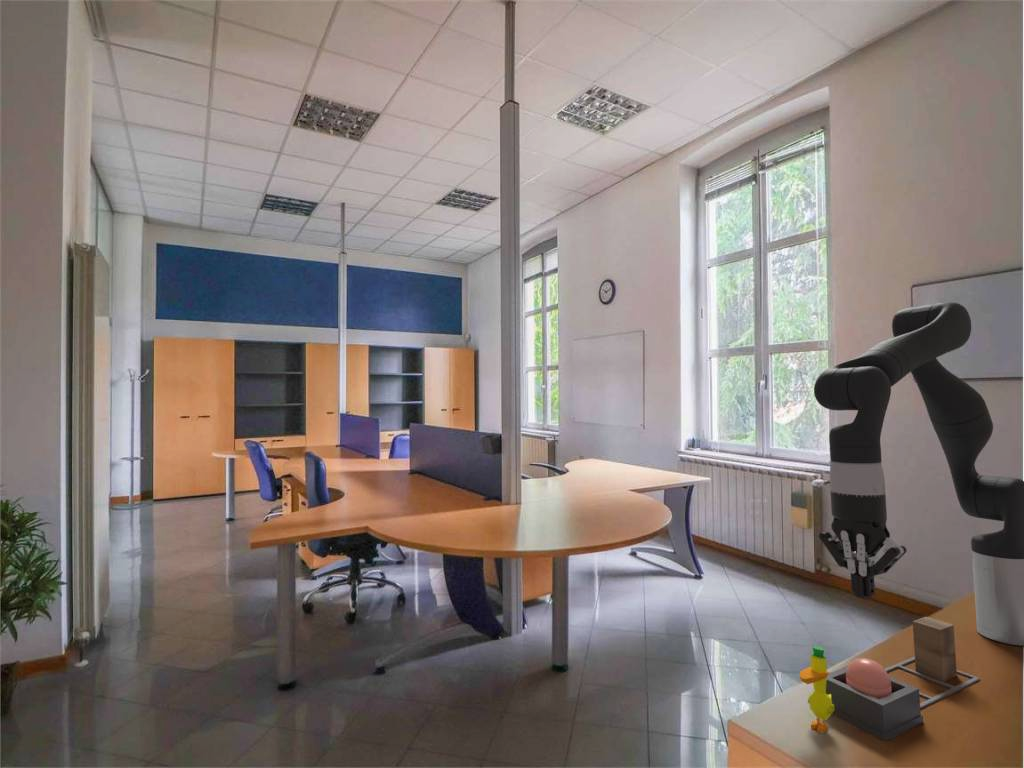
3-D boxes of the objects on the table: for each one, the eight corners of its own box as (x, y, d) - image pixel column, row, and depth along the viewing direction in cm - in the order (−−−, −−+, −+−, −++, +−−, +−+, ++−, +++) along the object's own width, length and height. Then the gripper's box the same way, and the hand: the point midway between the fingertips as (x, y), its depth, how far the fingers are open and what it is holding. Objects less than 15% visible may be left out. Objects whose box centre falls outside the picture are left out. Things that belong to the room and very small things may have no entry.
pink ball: (861, 684, 88) (859, 648, 88) (900, 702, 82) (898, 663, 82) (838, 694, 85) (836, 656, 85) (877, 713, 80) (875, 672, 80)
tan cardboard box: (928, 665, 98) (925, 616, 99) (956, 675, 94) (953, 624, 95) (915, 670, 96) (912, 621, 97) (943, 681, 92) (940, 629, 93)
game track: (917, 656, 101) (917, 655, 101) (979, 679, 93) (979, 678, 93) (848, 685, 92) (848, 683, 92) (910, 713, 83) (910, 711, 83)
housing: (857, 691, 90) (855, 661, 90) (923, 722, 81) (921, 689, 81) (819, 707, 86) (818, 676, 86) (885, 741, 77) (883, 706, 77)
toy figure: (815, 741, 77) (811, 658, 78) (793, 728, 80) (789, 649, 81) (844, 728, 80) (839, 648, 81) (821, 716, 83) (817, 639, 84)
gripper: (915, 492, 81) (923, 606, 80) (831, 482, 93) (837, 582, 92) (887, 497, 78) (894, 616, 77) (804, 486, 89) (809, 589, 89)
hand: (863, 597), depth 84 cm, fingers closed
